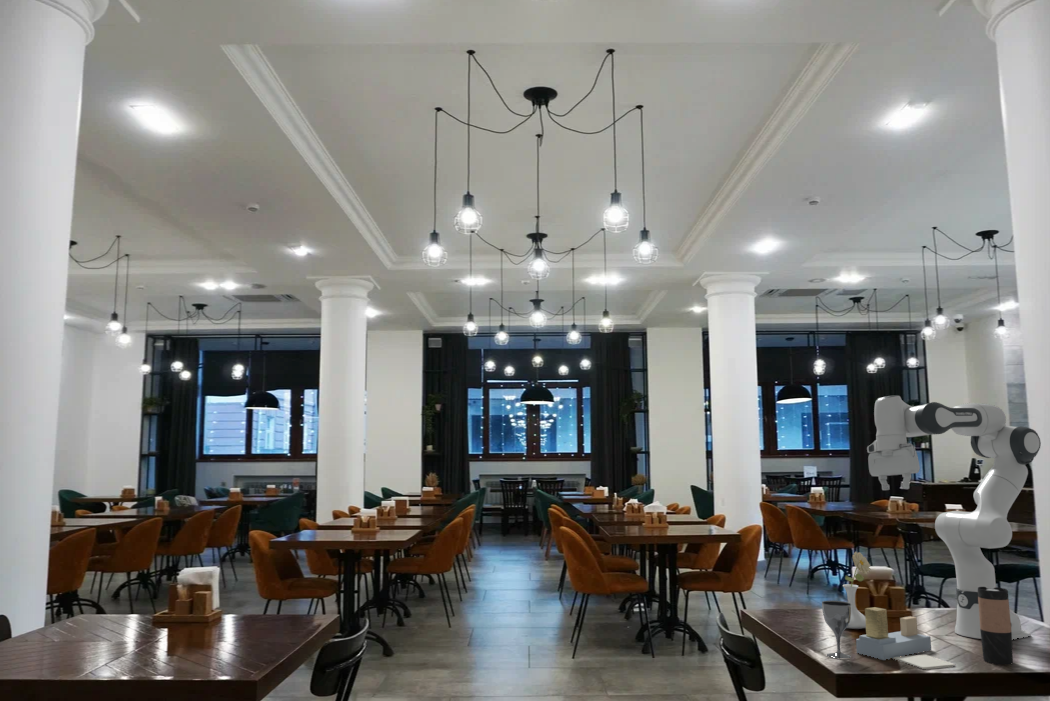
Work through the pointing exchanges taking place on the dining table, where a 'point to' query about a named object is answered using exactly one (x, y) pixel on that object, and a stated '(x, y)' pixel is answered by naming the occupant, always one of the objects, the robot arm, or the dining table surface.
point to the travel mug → (995, 625)
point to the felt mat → (924, 661)
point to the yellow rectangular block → (876, 623)
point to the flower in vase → (856, 617)
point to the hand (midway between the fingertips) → (895, 489)
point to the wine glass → (837, 621)
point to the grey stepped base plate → (895, 642)
